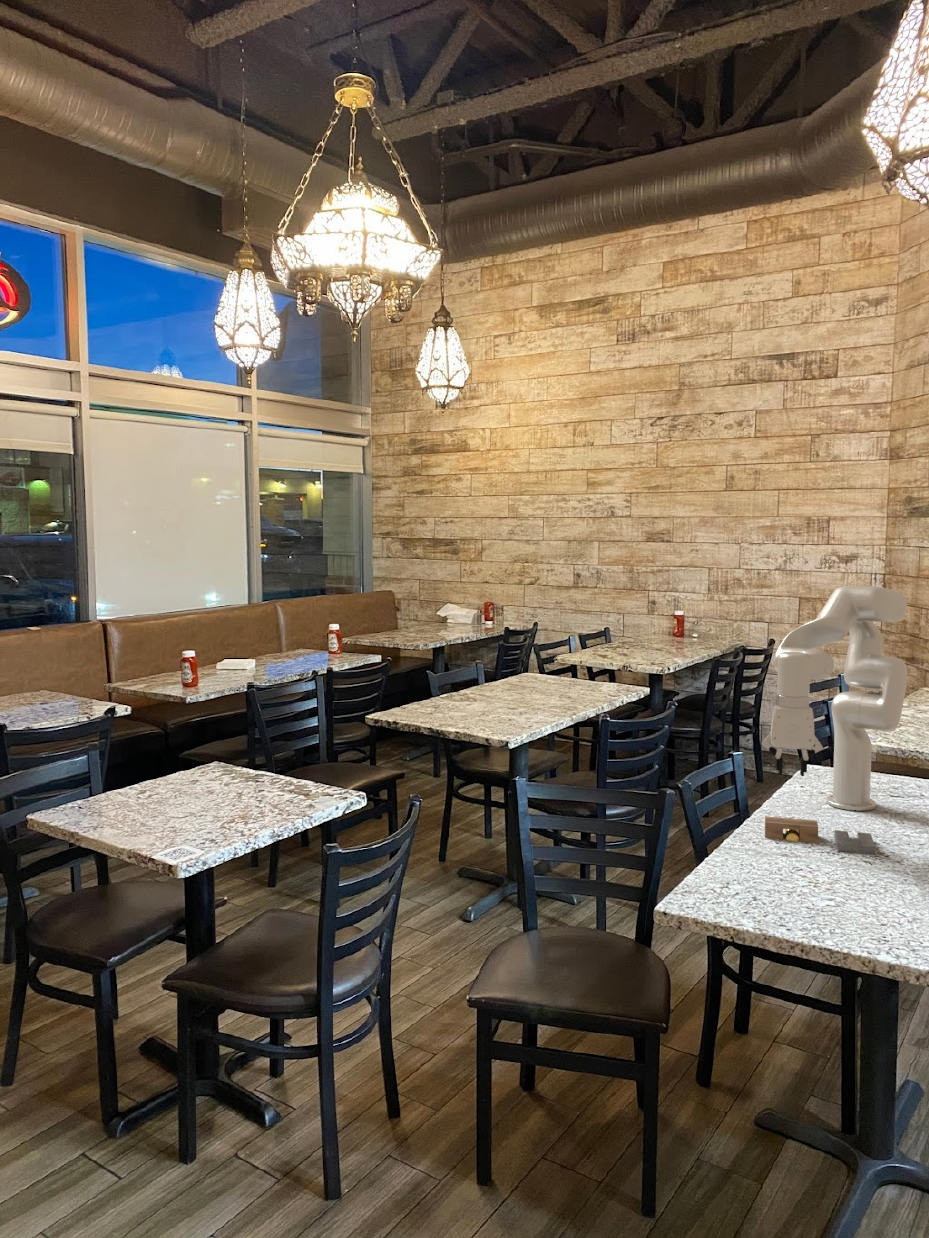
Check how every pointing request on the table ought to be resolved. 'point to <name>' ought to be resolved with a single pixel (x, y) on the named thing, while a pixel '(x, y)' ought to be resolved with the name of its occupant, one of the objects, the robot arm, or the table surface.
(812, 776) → the table surface
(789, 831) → the brass rod
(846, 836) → the iron V-block
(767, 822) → the walnut beam
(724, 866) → the table surface
